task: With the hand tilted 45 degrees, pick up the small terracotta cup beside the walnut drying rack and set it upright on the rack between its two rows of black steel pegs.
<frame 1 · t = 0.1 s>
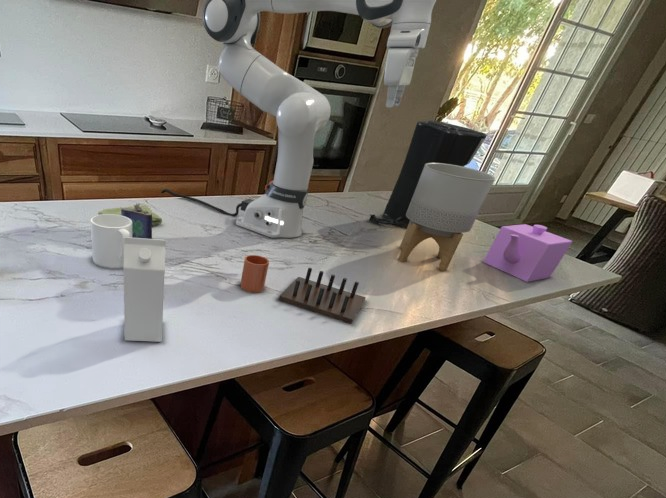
hand: (392, 106, 114), 39 cm above the kitchen island, tool pointing down, fingers open, 8 cm apart
coffee maker: (403, 220, 172), on the kitchen island
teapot: (513, 270, 140), on the kitchen island
rack: (322, 300, 107), on the kitchen island
mug: (115, 263, 111), on the kitchen island
milk carton: (143, 333, 87), on the kitchen island
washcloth: (130, 222, 137), on the kitchen island
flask: (136, 243, 123), on the kitchen island
planter: (421, 259, 139), on the kitchen island
cup: (251, 287, 108), on the kitchen island
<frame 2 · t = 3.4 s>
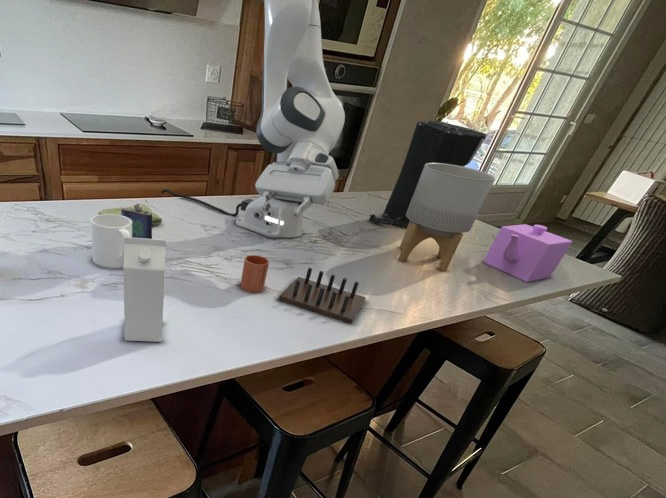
hand: (279, 212, 107), 16 cm above the kitchen island, tool tilted 45°, fingers open, 8 cm apart
nothing on the kitchen island moved.
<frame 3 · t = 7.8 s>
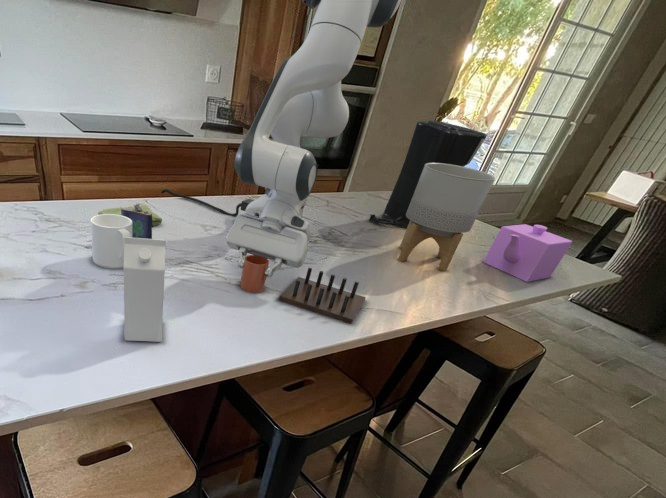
hand: (254, 271, 105), 4 cm above the kitchen island, tool tilted 45°, fingers closed on cup, 6 cm apart
cup: (251, 287, 108), on the kitchen island, touching gripper
everything else where it was.
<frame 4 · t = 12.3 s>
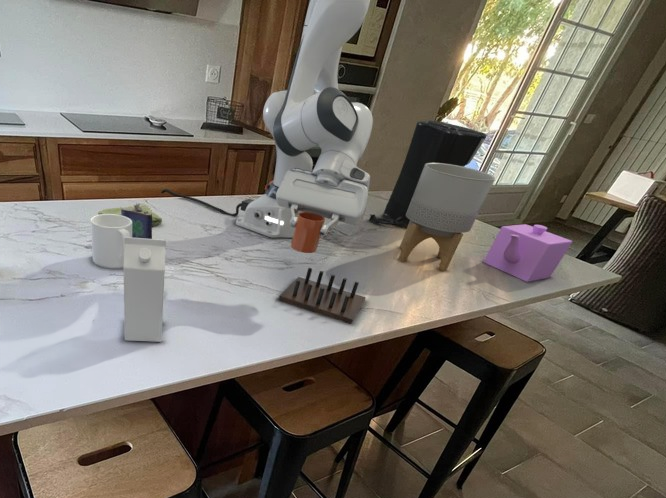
hand: (307, 229, 97), 16 cm above the kitchen island, tool tilted 45°, fingers closed on cup, 6 cm apart
cup: (303, 248, 100), point 12 cm above the kitchen island, touching gripper
everything else where it was.
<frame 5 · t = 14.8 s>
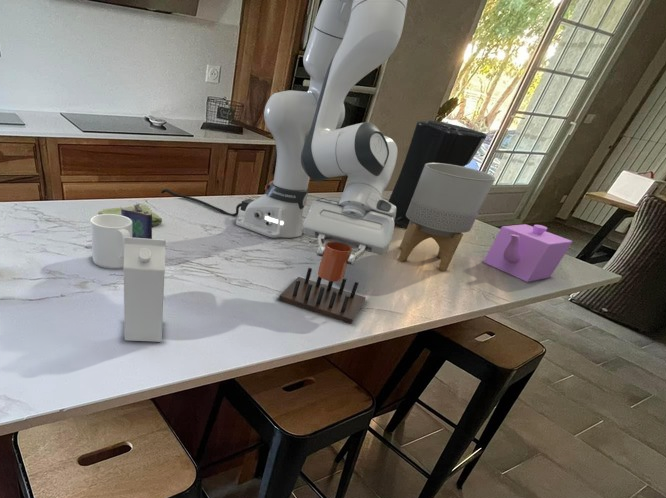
hand: (334, 259, 99), 11 cm above the kitchen island, tool tilted 45°, fingers closed on cup, 6 cm apart
cup: (330, 276, 103), point 7 cm above the kitchen island, touching gripper
everything else where it was.
when the fingers open (5 cm above the kitchen island, at t = 16.9 s): cup stays where it is, resting on rack.
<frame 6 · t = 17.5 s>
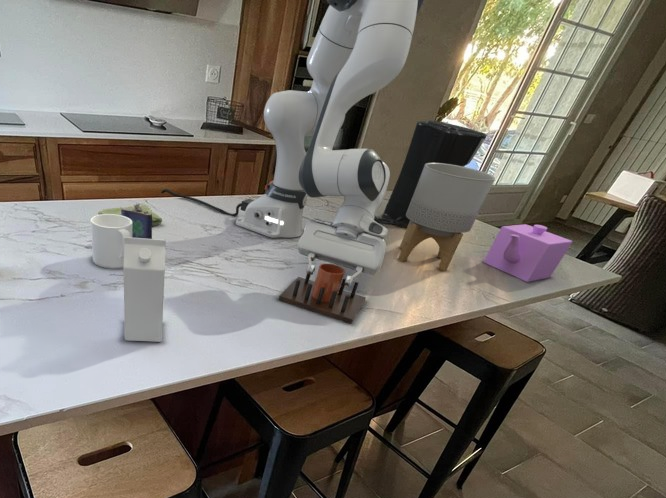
hand: (328, 279, 102), 6 cm above the kitchen island, tool tilted 45°, fingers open, 8 cm apart
cup: (323, 296, 106), point 1 cm above the kitchen island, touching rack
everything else where it was.
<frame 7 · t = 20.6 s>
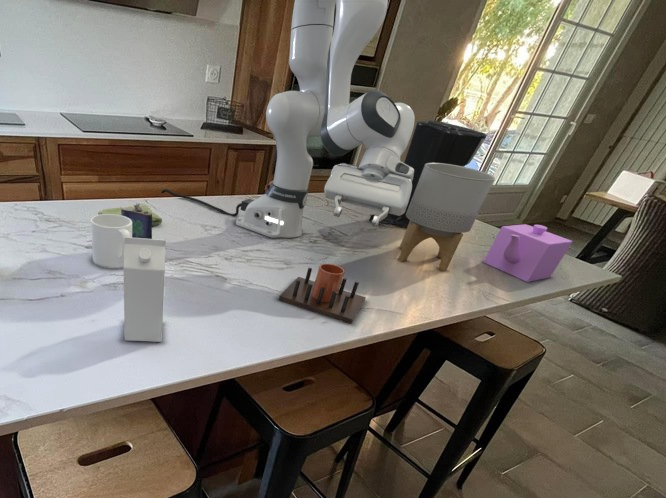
hand: (354, 220, 105), 17 cm above the kitchen island, tool tilted 45°, fingers open, 8 cm apart
nothing on the kitchen island moved.
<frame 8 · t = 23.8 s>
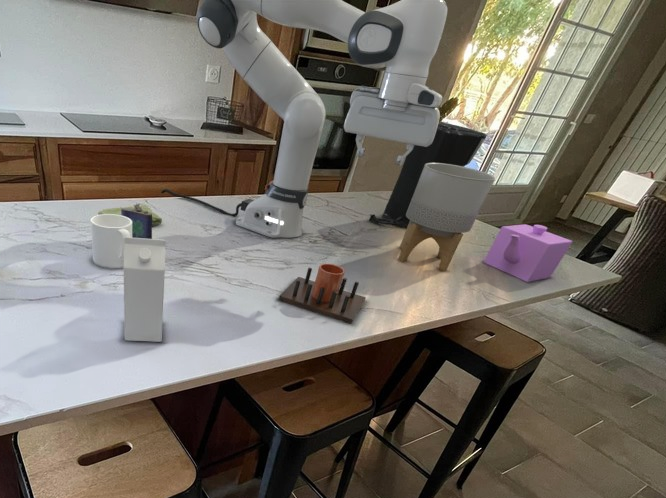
hand: (378, 160, 103), 29 cm above the kitchen island, tool pointing down, fingers open, 8 cm apart
nothing on the kitchen island moved.
at the end: cup 0.1 cm off-centre on the rack, point 1.2 cm above the rack's base; cup tilted 0°; the gripper is holding nothing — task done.
